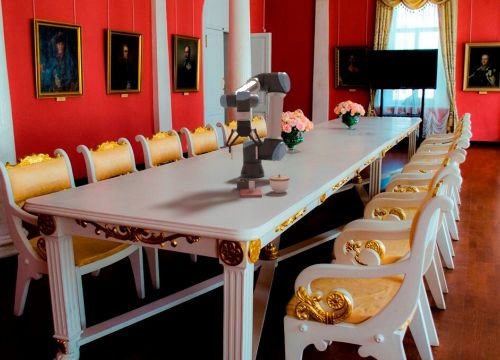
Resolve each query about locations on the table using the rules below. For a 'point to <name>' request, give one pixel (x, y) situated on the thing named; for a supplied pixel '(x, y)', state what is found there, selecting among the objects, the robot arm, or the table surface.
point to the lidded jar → (279, 183)
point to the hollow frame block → (242, 184)
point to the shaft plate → (249, 194)
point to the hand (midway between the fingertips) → (244, 158)
